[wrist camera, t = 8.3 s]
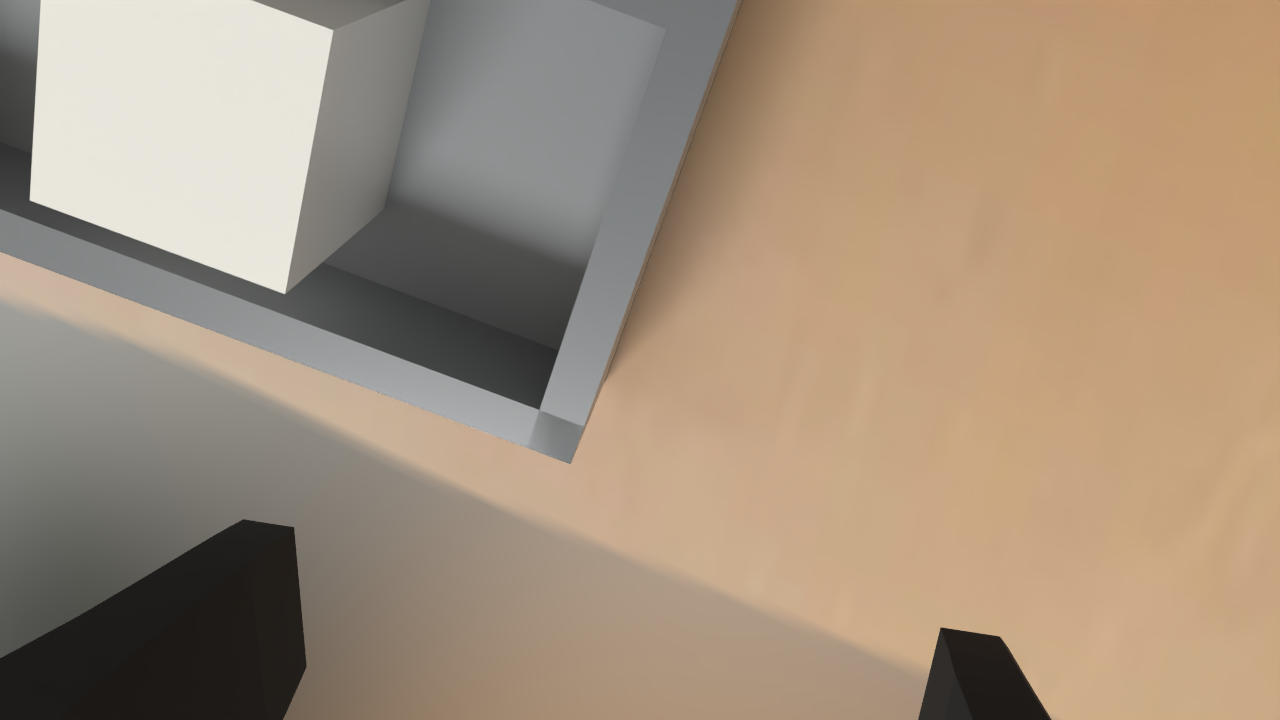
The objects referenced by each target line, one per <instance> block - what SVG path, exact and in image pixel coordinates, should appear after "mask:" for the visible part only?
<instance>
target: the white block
mask: <svg viewBox="0 0 1280 720" xmlns="http://www.w3.org/2000/svg"><path fill="white" fill-rule="evenodd" d="M430 1H431V0H41V5H40V23H39V41H38V59H37V77H36V95H35V113H34V131H33V149H32V167H31V185H30V201H33V202H35V203H38V204H41V205H44V206H46V207H49V208H52V209H54V210H57V211H60V212H63V213H65V214H68V215H71V216H74V217H76V218H79V219H82V220H84V221H87V222H90V223H93V224H95V225H98V226H101V227H103V228H106V229H109V230H112V231H114V232H117V233H120V234H123V235H125V236H128V237H131V238H133V239H136V240H139V241H142V242H144V243H147V244H150V245H152V246H155V247H158V248H161V249H163V250H166V251H169V252H172V253H174V254H177V255H180V256H182V257H185V258H188V259H191V260H193V261H196V262H199V263H201V264H204V265H207V266H210V267H212V268H215V269H218V270H221V271H223V272H226V273H229V274H231V275H234V276H237V277H240V278H242V279H245V280H248V281H250V282H253V283H256V284H259V285H261V286H264V287H267V288H270V289H272V290H275V291H278V292H280V293H283V294H286V293H287V292H288V291H289V290H291V289H292V288H293V287H294V286H295V285H296V284H298V283H299V282H300V281H301V280H302V279H303V278H305V277H306V276H307V275H308V274H309V273H310V272H312V271H313V270H314V269H315V268H316V267H317V266H319V265H320V264H321V263H322V262H323V261H324V260H326V259H327V258H328V257H329V256H330V255H331V254H333V253H334V252H335V251H336V250H337V249H338V248H340V247H341V246H342V245H343V244H344V243H345V242H347V241H348V240H349V239H350V238H351V237H352V236H354V235H355V234H356V233H357V232H358V231H359V230H361V229H362V228H363V227H364V226H365V225H366V224H368V223H369V222H370V221H371V220H372V219H373V218H375V217H376V216H377V215H378V214H379V213H380V212H382V211H383V210H384V207H385V203H386V198H387V194H388V189H389V185H390V180H391V176H392V171H393V167H394V162H395V158H396V153H397V149H398V144H399V140H400V136H401V131H402V127H403V122H404V118H405V113H406V109H407V104H408V100H409V95H410V91H411V86H412V82H413V77H414V73H415V68H416V64H417V59H418V55H419V50H420V46H421V41H422V37H423V32H424V28H425V23H426V19H427V14H428V10H429V5H430Z"/></svg>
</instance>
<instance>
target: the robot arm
mask: <svg viewBox="0 0 1280 720" xmlns="http://www.w3.org/2000/svg"><path fill="white" fill-rule="evenodd" d="M305 669H306V656H305V645H304V633H303V623H302V611H301V600H300V589H299V578H298V567H297V556H296V545H295V535H294V527H288V526H282V525H275V524H268V523H262V522H256V521H250V520H242V521H240V522H238V523H236V524H234V525H232V526H230V527H229V528H227V529H225V530H223V531H221V532H220V533H218V534H216V535H214V536H213V537H211V538H209V539H208V540H206V541H204V542H202V543H201V544H199V545H197V546H196V547H194V548H192V549H191V550H189V551H187V552H186V553H184V554H182V555H181V556H179V557H178V558H176V559H174V560H172V561H171V562H169V563H167V564H166V565H164V566H162V567H161V568H159V569H157V570H156V571H154V572H153V573H151V574H149V575H148V576H146V577H144V578H143V579H141V580H139V581H137V582H136V583H134V584H132V585H131V586H129V587H127V588H125V589H124V590H122V591H120V592H119V593H117V594H115V595H114V596H112V597H110V598H109V599H107V600H105V601H103V602H102V603H100V604H98V605H97V606H95V607H93V608H92V609H90V610H88V611H87V612H85V613H83V614H81V615H80V616H78V617H76V618H74V619H72V620H71V621H69V622H67V623H65V624H63V625H61V626H59V627H58V628H56V629H54V630H52V631H50V632H48V633H46V634H45V635H43V636H41V637H39V638H37V639H36V640H34V641H32V642H30V643H28V644H26V645H24V646H22V647H21V648H19V649H17V650H15V651H13V652H11V653H9V654H8V655H6V656H4V657H2V658H0V720H283V718H284V716H285V714H286V712H287V710H288V707H289V705H290V703H291V701H292V698H293V696H294V694H295V692H296V689H297V687H298V685H299V682H300V680H301V678H302V676H303V673H304V671H305ZM918 720H1051V718H1050V716H1049V715H1048V713H1047V712H1046V710H1045V709H1044V707H1043V705H1042V704H1041V702H1040V700H1039V699H1038V697H1037V695H1036V694H1035V692H1034V691H1033V689H1032V687H1031V686H1030V684H1029V682H1028V681H1027V679H1026V677H1025V676H1024V674H1023V672H1022V670H1021V669H1020V667H1019V665H1018V664H1017V662H1016V660H1015V659H1014V657H1013V655H1012V654H1011V652H1010V650H1009V649H1008V647H1007V646H1006V644H1005V643H1004V642H1003V640H1002V639H1001V638H1000V637H999V636H992V635H986V634H979V633H973V632H966V631H960V630H954V629H947V628H940V632H939V637H938V641H937V645H936V649H935V653H934V657H933V661H932V665H931V669H930V674H929V678H928V682H927V686H926V690H925V694H924V699H923V703H922V706H921V711H920V715H919V719H918Z"/></svg>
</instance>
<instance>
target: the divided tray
mask: <svg viewBox="0 0 1280 720" xmlns="http://www.w3.org/2000/svg"><path fill="white" fill-rule="evenodd" d="M741 3H742V0H431V1H430V5H429V10H428V14H427V19H426V23H425V28H424V32H423V37H422V41H421V46H420V50H419V55H418V59H417V64H416V68H415V73H414V77H413V82H412V86H411V91H410V95H409V100H408V104H407V109H406V113H405V118H404V122H403V127H402V131H401V136H400V140H399V144H398V149H397V153H396V158H395V162H394V167H393V171H392V176H391V180H390V185H389V189H388V194H387V198H386V203H385V207H384V210H383V211H382V212H380V213H379V214H378V215H377V216H376V217H375V218H373V219H372V220H371V221H370V222H369V223H368V224H366V225H365V226H364V227H363V228H362V229H361V230H359V231H358V232H357V233H356V234H355V235H354V236H352V237H351V238H350V239H349V240H348V241H347V242H345V243H344V244H343V245H342V246H341V247H340V248H338V249H337V250H336V251H335V252H334V253H333V254H331V255H330V256H329V257H328V258H327V259H326V260H324V261H323V262H322V263H321V264H320V265H319V266H317V267H316V268H315V269H314V270H313V271H312V272H310V273H309V274H308V275H307V276H306V277H305V278H303V279H302V280H301V281H300V282H299V283H298V284H296V285H295V286H294V287H293V288H292V289H291V290H289V291H288V292H287V293H286V294H283V293H280V292H278V291H275V290H272V289H270V288H267V287H264V286H261V285H259V284H256V283H253V282H250V281H248V280H245V279H242V278H240V277H237V276H234V275H231V274H229V273H226V272H223V271H221V270H218V269H215V268H212V267H210V266H207V265H204V264H201V263H199V262H196V261H193V260H191V259H188V258H185V257H182V256H180V255H177V254H174V253H172V252H169V251H166V250H163V249H161V248H158V247H155V246H152V245H150V244H147V243H144V242H142V241H139V240H136V239H133V238H131V237H128V236H125V235H123V234H120V233H117V232H114V231H112V230H109V229H106V228H103V227H101V226H98V225H95V224H93V223H90V222H87V221H84V220H82V219H79V218H76V217H74V216H71V215H68V214H65V213H63V212H60V211H57V210H54V209H52V208H49V207H46V206H44V205H41V204H38V203H35V202H33V201H30V185H31V167H32V149H33V131H34V113H35V95H36V77H37V59H38V41H39V23H40V5H41V0H0V252H2V253H5V254H8V255H10V256H13V257H16V258H18V259H21V260H24V261H27V262H29V263H32V264H35V265H37V266H40V267H43V268H45V269H48V270H51V271H53V272H56V273H59V274H61V275H64V276H67V277H69V278H72V279H75V280H78V281H80V282H83V283H86V284H88V285H91V286H94V287H96V288H99V289H102V290H104V291H107V292H110V293H112V294H115V295H118V296H120V297H123V298H126V299H129V300H131V301H134V302H137V303H139V304H142V305H145V306H147V307H150V308H153V309H155V310H158V311H161V312H163V313H166V314H169V315H171V316H174V317H177V318H180V319H182V320H185V321H188V322H190V323H193V324H196V325H198V326H201V327H204V328H206V329H209V330H212V331H214V332H217V333H220V334H222V335H225V336H228V337H231V338H233V339H236V340H239V341H241V342H244V343H247V344H249V345H252V346H255V347H257V348H260V349H263V350H265V351H268V352H271V353H274V354H276V355H279V356H282V357H284V358H287V359H290V360H292V361H295V362H298V363H300V364H303V365H306V366H308V367H311V368H314V369H316V370H319V371H322V372H325V373H327V374H330V375H333V376H335V377H338V378H341V379H343V380H346V381H349V382H351V383H354V384H357V385H359V386H362V387H365V388H367V389H370V390H373V391H376V392H378V393H381V394H384V395H386V396H389V397H392V398H394V399H397V400H400V401H402V402H405V403H408V404H410V405H413V406H416V407H418V408H421V409H424V410H427V411H429V412H432V413H435V414H437V415H440V416H443V417H445V418H448V419H451V420H453V421H456V422H459V423H461V424H464V425H467V426H469V427H472V428H475V429H478V430H480V431H483V432H486V433H488V434H491V435H494V436H496V437H499V438H502V439H504V440H507V441H510V442H512V443H515V444H518V445H520V446H523V447H526V448H529V449H531V450H534V451H537V452H539V453H542V454H545V455H547V456H550V457H553V458H555V459H558V460H561V461H563V462H566V463H569V464H571V462H572V459H573V457H574V454H575V452H576V450H577V447H578V445H579V442H580V440H581V437H582V435H583V433H584V430H585V428H586V425H587V423H588V420H589V418H590V416H591V413H592V411H593V408H594V406H595V403H596V401H597V399H598V396H599V394H600V391H601V389H602V386H603V384H604V381H605V378H606V376H607V373H608V370H609V367H610V365H611V362H612V359H613V356H614V354H615V351H616V348H617V345H618V342H619V340H620V337H621V334H622V331H623V329H624V326H625V323H626V320H627V318H628V315H629V312H630V309H631V307H632V304H633V301H634V298H635V295H636V293H637V290H638V287H639V284H640V282H641V279H642V276H643V273H644V271H645V268H646V265H647V262H648V260H649V257H650V254H651V251H652V248H653V246H654V243H655V240H656V237H657V235H658V232H659V229H660V226H661V224H662V221H663V218H664V215H665V213H666V210H667V207H668V204H669V202H670V199H671V196H672V193H673V190H674V188H675V185H676V182H677V179H678V177H679V174H680V171H681V168H682V166H683V163H684V160H685V157H686V155H687V152H688V149H689V146H690V143H691V141H692V138H693V135H694V132H695V130H696V127H697V124H698V121H699V119H700V116H701V113H702V110H703V108H704V105H705V102H706V99H707V96H708V94H709V91H710V88H711V85H712V83H713V80H714V77H715V74H716V72H717V69H718V66H719V63H720V61H721V58H722V55H723V52H724V50H725V47H726V44H727V41H728V38H729V36H730V33H731V30H732V27H733V25H734V22H735V19H736V16H737V14H738V11H739V8H740V5H741Z"/></svg>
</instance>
